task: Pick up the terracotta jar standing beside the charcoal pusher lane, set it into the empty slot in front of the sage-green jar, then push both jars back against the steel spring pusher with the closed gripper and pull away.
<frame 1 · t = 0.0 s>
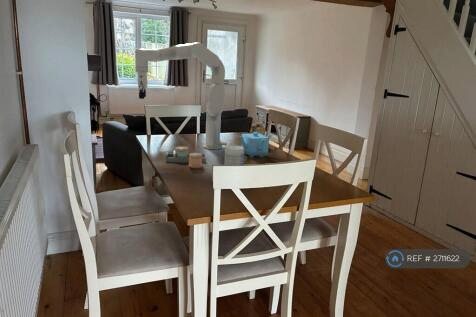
hand: (142, 97, 222), 31 cm above the table, tool pointing down, fingers open, 9 cm apart
pusher lane: (185, 160, 203), on the table
spring pusher: (174, 155, 201), point 3 cm above the table, slide at 0.0 cm
supplement tub: (233, 175, 183), on the table
sage jar: (181, 159, 203), resting on pusher lane
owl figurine: (255, 146, 248), on the table
teakettle: (254, 156, 222), on the table
terracotta jar: (195, 167, 193), on the table
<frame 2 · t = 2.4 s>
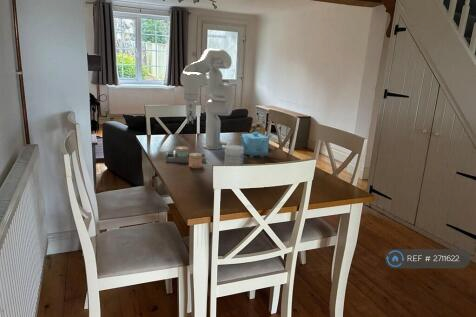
hand: (190, 129, 190), 20 cm above the table, tool pointing down, fingers open, 9 cm apart
nothing on the table moved.
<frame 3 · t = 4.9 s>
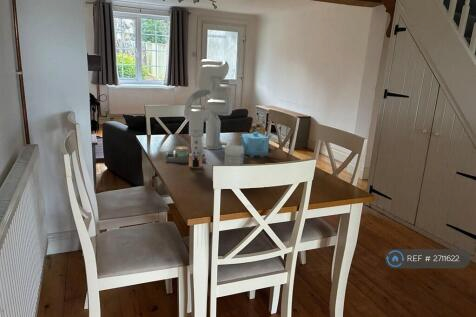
hand: (195, 164, 192), 1 cm above the table, tool pointing down, fingers closed on terracotta jar, 7 cm apart
terracotta jar: (195, 167, 193), on the table, touching gripper
everything else where it was.
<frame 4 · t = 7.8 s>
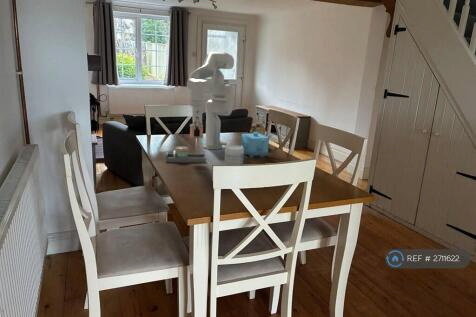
hand: (196, 134, 200), 15 cm above the table, tool pointing down, fingers closed on terracotta jar, 7 cm apart
terracotta jar: (196, 137, 200), point 14 cm above the table, touching gripper
everything else where it was.
when the fingers open (3 cm above the table, at t = 10.5 s): terracotta jar drops 1 cm, resting on pusher lane.
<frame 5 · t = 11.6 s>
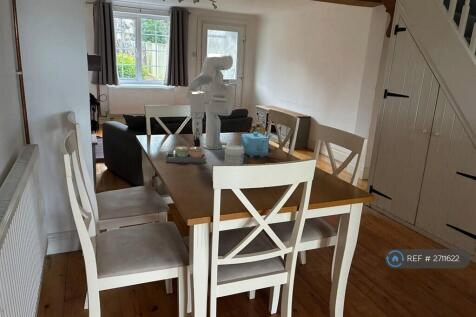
hand: (196, 144, 202), 10 cm above the table, tool pointing down, fingers open, 9 cm apart
terracotta jar: (195, 160, 204), resting on pusher lane
everything else where it was.
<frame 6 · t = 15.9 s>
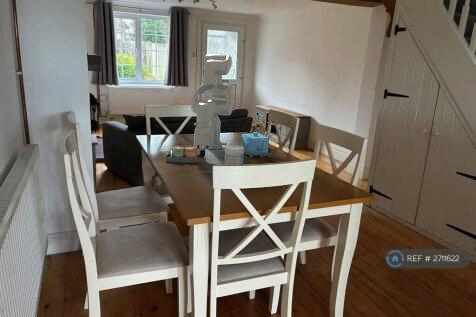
hand: (202, 156, 204), 3 cm above the table, tool pointing down, fingers closed
spring pusher: (171, 155, 201), point 3 cm above the table, slide at 1.7 cm, touching sage jar
sage jar: (178, 159, 202), point 1 cm above the table, touching spring pusher
terracotta jar: (191, 159, 204), point 1 cm above the table, touching gripper
everything else where it was.
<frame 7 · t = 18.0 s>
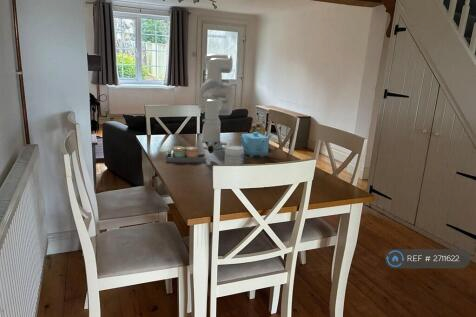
hand: (210, 152, 205), 5 cm above the table, tool pointing down, fingers closed
spring pusher: (172, 155, 201), point 3 cm above the table, slide at 1.2 cm
sage jar: (179, 159, 202), resting on pusher lane
terracotta jar: (191, 160, 204), resting on pusher lane
everything else where it was.
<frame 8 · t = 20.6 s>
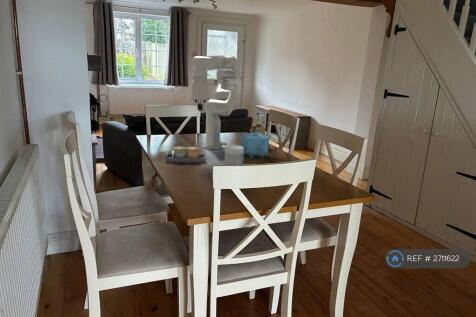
hand: (199, 110, 210), 27 cm above the table, tool pointing down, fingers closed
spring pusher: (172, 155, 201), point 3 cm above the table, slide at 0.8 cm
everything else where it was.
at the end: terracotta jar 2.6 cm from the target spot on the pusher lane, point 0.5 cm above the pusher lane's base; terracotta jar tilted 0°; sage jar 0.9 cm from the target spot on the pusher lane, point 0.5 cm above the pusher lane's base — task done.
